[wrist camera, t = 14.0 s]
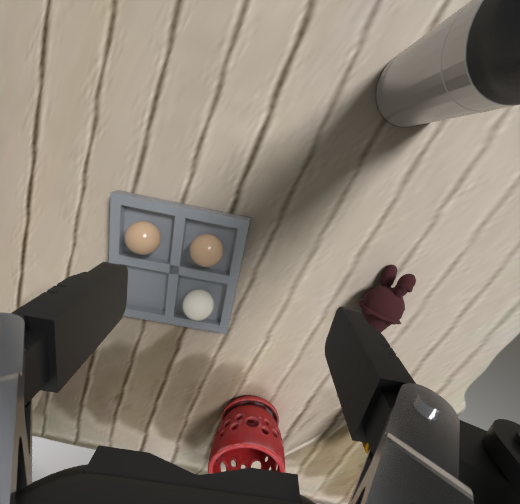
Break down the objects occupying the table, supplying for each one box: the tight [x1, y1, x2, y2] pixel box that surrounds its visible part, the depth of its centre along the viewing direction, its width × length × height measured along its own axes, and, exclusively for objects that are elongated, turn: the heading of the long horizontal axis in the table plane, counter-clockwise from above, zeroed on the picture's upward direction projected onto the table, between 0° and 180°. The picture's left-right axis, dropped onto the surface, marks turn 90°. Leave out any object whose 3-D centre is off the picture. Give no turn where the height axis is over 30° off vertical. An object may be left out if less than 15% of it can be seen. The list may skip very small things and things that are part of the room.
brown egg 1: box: [125, 221, 161, 255], centre depth 40 cm, size 5×5×5 cm
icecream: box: [359, 265, 416, 333], centre depth 44 cm, size 7×7×15 cm
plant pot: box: [208, 396, 285, 474], centre depth 51 cm, size 13×13×12 cm
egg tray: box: [109, 191, 250, 334], centre depth 44 cm, size 20×20×2 cm
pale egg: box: [182, 289, 214, 321], centre depth 44 cm, size 5×5×5 cm
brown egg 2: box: [190, 234, 223, 267], centre depth 41 cm, size 5×5×5 cm
